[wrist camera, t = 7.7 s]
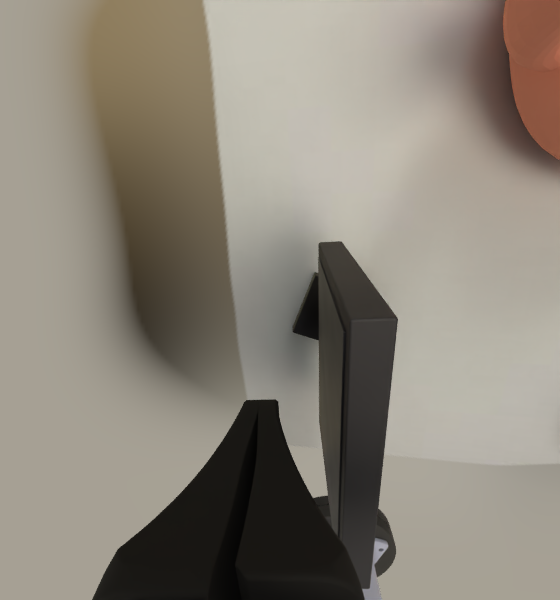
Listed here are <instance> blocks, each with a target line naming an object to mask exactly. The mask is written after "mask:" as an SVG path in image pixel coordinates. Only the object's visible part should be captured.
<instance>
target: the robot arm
mask: <svg viewBox="0 0 560 600" xmlns="http://www.w3.org/2000/svg"><path fill="white" fill-rule="evenodd" d="M387 548H388V543H387V541H386V540H382V539H378V538H375V544H374V554H373V563H372V573H371V583H370V588H369V589H362V587H361V583H360V580H359V578H358V575H357V572H356V570H355V568H354V565H353V563H352V560H351V558H350V556H349V554H348V551H347V549H346V547H345V545H344V544H343V543H342V541H341V540H340V539H339V537H338V536H337V534H336V533H335V532H334V530H333V529H332V527H331V526H330V525H329V523H328V522H327V520H326V518H325V517H324V515H323V514H322V512H321V511H320V509H319V508H318V506H317V504H316V502H315V501H314V499H313V498H312V496H311V494H310V492H309V491H308V489H307V487H306V485H305V483H304V481H303V479H302V477H301V475H300V473H299V471H298V469H297V467H296V465H295V463H294V460H293V458H292V455H291V453H290V450H289V448H288V445H287V442H286V439H285V436H284V433H283V430H282V426H281V422H280V418H279V407H278V401H277V400H246V401H245V402H244V404H243V406H242V408H241V410H240V412H239V414H238V416H237V418H236V419H235V421H234V423H233V425H232V426H231V428H230V429H229V431H228V433H227V435H226V436H225V438H224V439H223V441H222V442H221V444H220V445H219V447H218V448H217V449H216V451H215V452H214V454H213V455H212V456H211V458H210V459H209V460H208V462H207V463H206V464H205V466H204V467H203V468H202V469H201V471H200V472H199V473H198V474H197V476H196V477H195V478H194V479H193V480H192V481H191V482H190V484H188V486H187V487H186V488H185V489H184V490H183V491H182V492H181V493H180V494H179V495H178V497H176V499H174V501H173V502H171V503H170V504H169V505H168V506H167V507H166V508H165V509H164V510H163V511H162V512H161V513H160V514H159V515H158V516H157V517H156V518H155V519H154V520H152V521H151V522H150V523H149V524H148V525H147V526H146V527H144V528H143V529H142V530H141V531H140V532H139V533H137V534H136V535H135V536H134V537H132V538H131V539H130V540H129V541H128V542H126V543H125V544H124V545H123V546H121V547H120V548H119V549H118V550H117V552H116V554H115V555H114V557H113V559H112V561H111V562H110V564H109V566H108V568H107V569H106V571H105V573H104V575H103V578H102V579H101V582H100V584H99V586H98V588H97V591H96V593H95V595H94V597H93V599H92V600H382V598H381V594H380V589H379V585H378V580H377V575H376V570H375V566H374V565H375V563H376V562H377V561H378V560H379V558H380V557H381V556H382V554H383V553H384V552H385V551H386V549H387Z"/></svg>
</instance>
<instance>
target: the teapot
mask: <svg viewBox="0 0 560 600" xmlns="http://www.w3.org/2000/svg"><path fill="white" fill-rule="evenodd" d="M503 31H504V41H505V44H506V47H507V50H508V53H509V54H510V56H509V60H510V72H511V83H512V88H513V93H514V98H515V102H516V106H517V109H518V111H519V114H520V116H521V119H522V121H523V123H524V125H525V126H526V128H527V130H528V131H529V133H530V134H531V136H532V137H533V138H534V140H535V141H536V142H537V143H538V144H539V145H540V146H541V147H542V148H543V149H544V150H545V151H547V152H548V153H550V154H551V155H552V156H554V157H555V158H557V159H559V160H560V0H506V2H505V7H504V17H503Z"/></svg>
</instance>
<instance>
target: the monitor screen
mask: <svg viewBox="0 0 560 600" xmlns="http://www.w3.org/2000/svg"><path fill="white" fill-rule="evenodd" d="M318 277H319V423H320V431H321V440H322V448H323V456H324V465H325V473H326V481H327V490H328V498H329V506H330V515H331V523H332V529H333V530H334V532H335V533H336V534H337V536H338V537H339V539H340V540H341V541H342V543H343V544H344V545H345V547H346V549H347V551H348V554H349V556H350V558H351V560H352V563H353V565H354V568H355V570H356V572H357V575H358V578H359V580H360V583H361V587H362V589H369V588H370V583H371V573H372V563H373V554H374V544H375V534H376V525H377V515H378V505H379V496H380V486H381V476H382V467H383V457H384V448H385V438H386V428H387V419H388V409H389V399H390V390H391V380H392V370H393V361H394V351H395V341H396V332H397V322H398V319H397V317H396V315H395V314H394V313H393V311H392V310H391V309H390V307H389V306H388V305H387V303H386V302H385V300H384V299H383V298H382V296H381V295H380V294H379V292H378V291H377V289H376V288H375V287H374V285H373V284H372V283H371V281H370V280H369V279H368V277H367V276H366V274H365V273H364V272H363V270H362V269H361V268H360V266H359V265H358V264H357V262H356V261H355V259H354V258H353V257H352V255H351V254H350V253H349V251H348V250H347V248H346V247H345V246H344V244H343V243H342V242H320V243H319V257H318Z"/></svg>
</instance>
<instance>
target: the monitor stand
mask: <svg viewBox="0 0 560 600" xmlns="http://www.w3.org/2000/svg"><path fill="white" fill-rule="evenodd" d="M293 332H294V333H297V334H300V335H303V336H306V337H309V338H313V339H316V340H319V277H318V273H316V272H315V273H314V275H313V277H312V280H311V282H310V285H309V288H308V290H307V293H306V295H305V298H304V300H303V303H302V305H301V308H300V310H299V313H298V315H297V318H296V320H295V323H294V325H293Z"/></svg>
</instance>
